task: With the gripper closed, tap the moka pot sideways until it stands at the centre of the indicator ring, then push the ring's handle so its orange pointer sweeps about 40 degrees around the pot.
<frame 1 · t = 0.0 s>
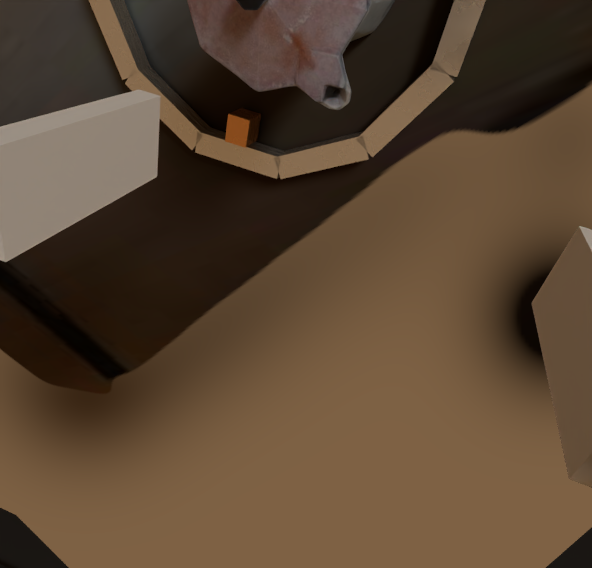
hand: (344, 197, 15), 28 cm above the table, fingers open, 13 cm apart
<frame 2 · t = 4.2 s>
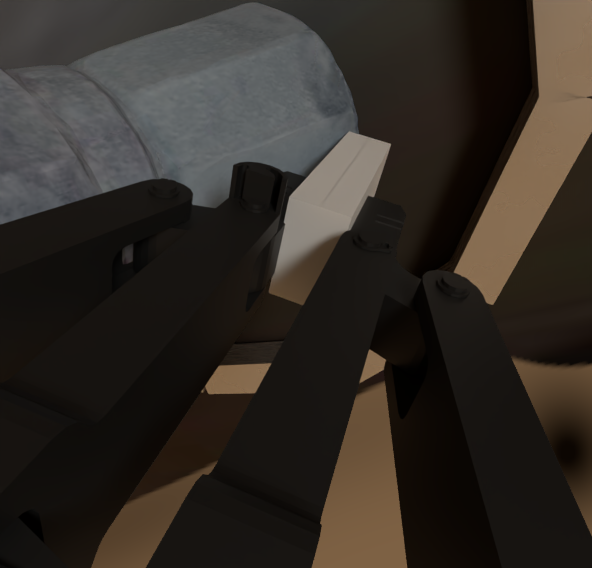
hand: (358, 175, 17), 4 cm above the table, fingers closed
indicator ring: (66, 69, 20), point 3 cm above the table, hinge at 0.0°
moka pot: (269, 123, 20), point 1 cm above the table, touching gripper, hand
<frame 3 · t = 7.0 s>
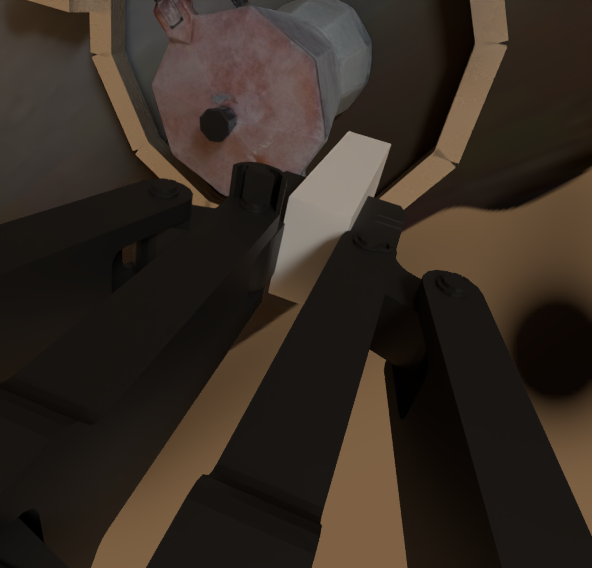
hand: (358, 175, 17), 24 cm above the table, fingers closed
indicator ring: (225, 37, 36), point 3 cm above the table, hinge at 0.0°
moka pot: (313, 57, 38), resting in indicator ring
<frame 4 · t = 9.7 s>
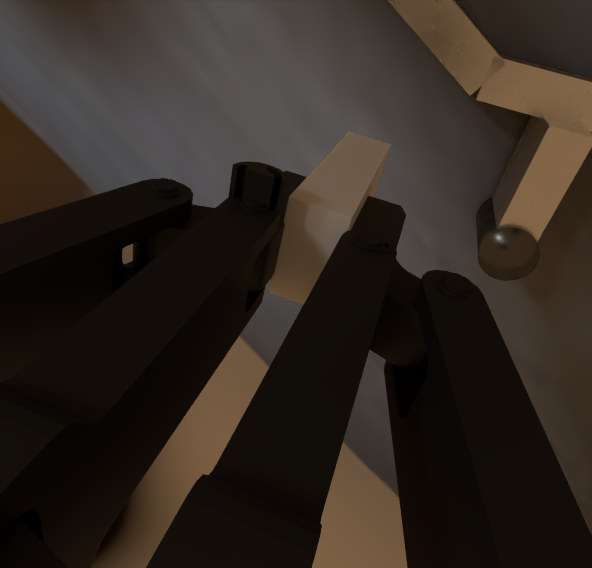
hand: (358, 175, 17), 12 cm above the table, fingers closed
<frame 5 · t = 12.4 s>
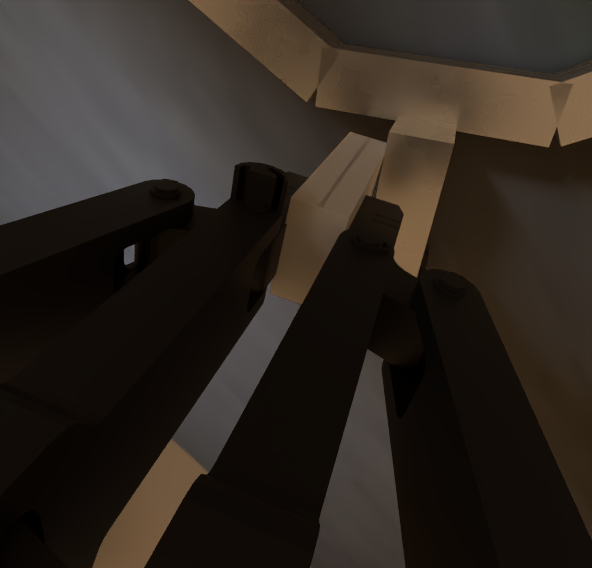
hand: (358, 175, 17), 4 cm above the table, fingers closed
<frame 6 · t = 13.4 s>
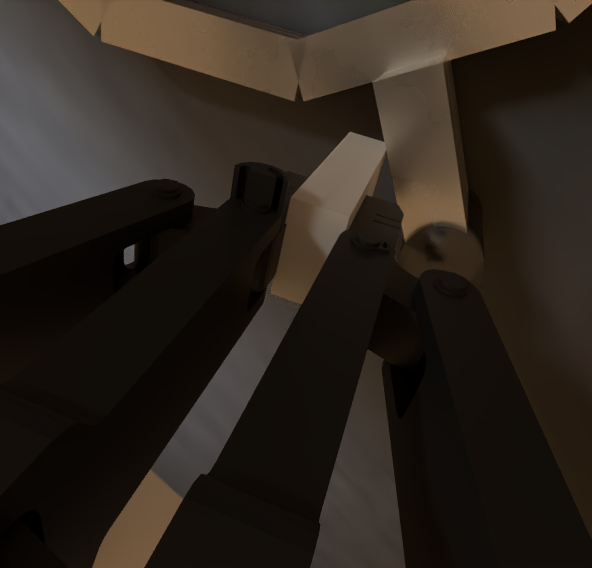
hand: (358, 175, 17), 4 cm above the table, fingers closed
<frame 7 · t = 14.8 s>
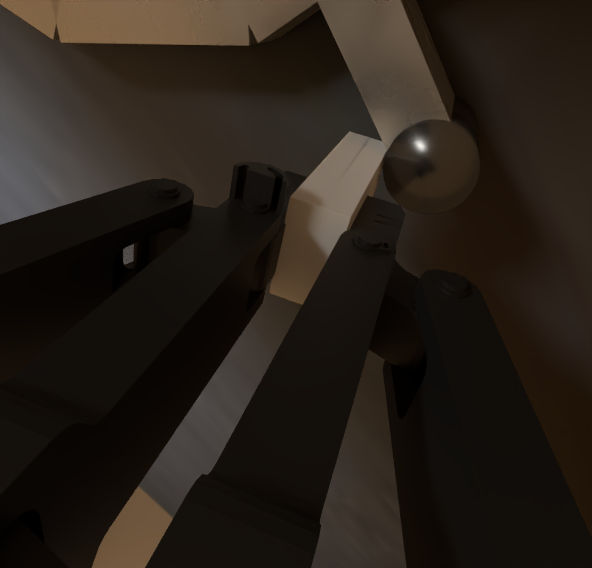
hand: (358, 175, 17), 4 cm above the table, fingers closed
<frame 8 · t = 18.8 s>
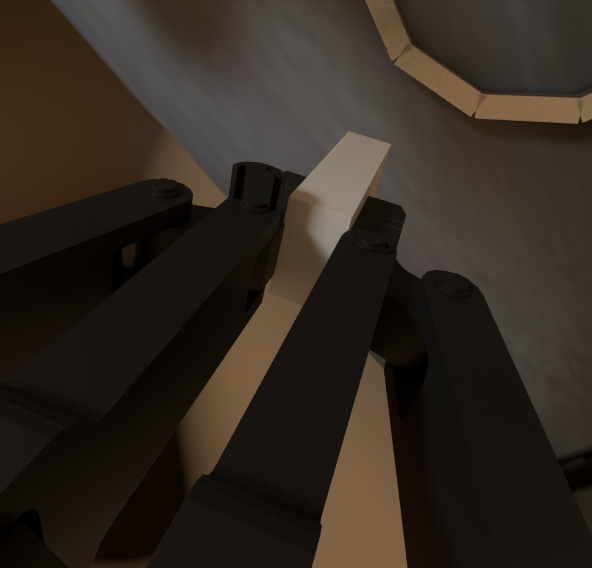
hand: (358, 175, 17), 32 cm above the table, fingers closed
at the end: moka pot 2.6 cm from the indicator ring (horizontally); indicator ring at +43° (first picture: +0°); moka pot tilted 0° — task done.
